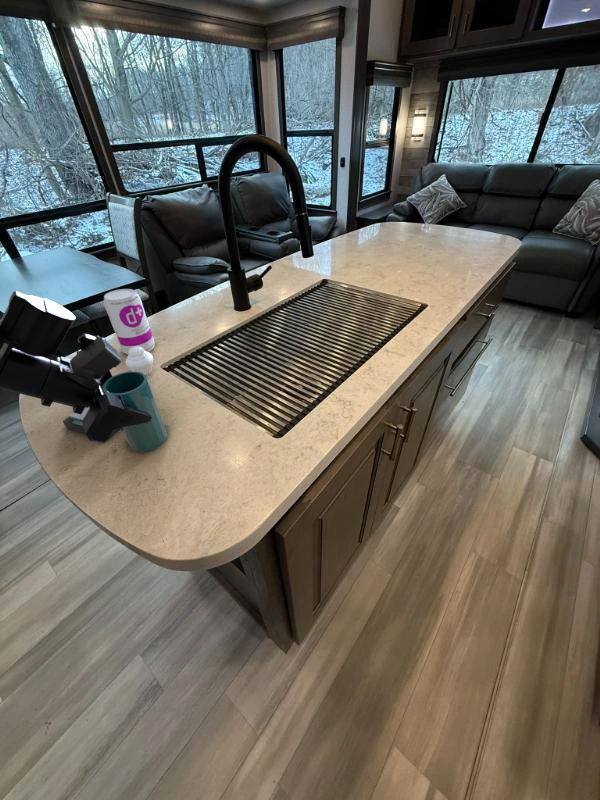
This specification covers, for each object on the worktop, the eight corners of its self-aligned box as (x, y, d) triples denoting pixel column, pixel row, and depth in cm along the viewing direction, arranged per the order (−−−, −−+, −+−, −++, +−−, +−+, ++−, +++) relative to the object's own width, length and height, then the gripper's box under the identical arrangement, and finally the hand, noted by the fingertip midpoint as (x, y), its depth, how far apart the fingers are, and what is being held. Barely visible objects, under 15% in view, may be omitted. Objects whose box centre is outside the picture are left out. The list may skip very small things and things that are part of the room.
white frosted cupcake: (143, 382, 77) (134, 356, 72) (124, 376, 79) (113, 350, 74) (163, 369, 81) (154, 343, 76) (144, 363, 83) (135, 338, 79)
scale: (107, 440, 62) (101, 430, 60) (67, 429, 65) (60, 419, 63) (149, 402, 71) (146, 392, 69) (112, 393, 73) (108, 384, 72)
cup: (151, 455, 59) (126, 398, 51) (121, 446, 61) (92, 390, 53) (174, 430, 64) (155, 375, 56) (146, 423, 66) (123, 368, 57)
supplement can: (160, 349, 89) (143, 294, 79) (130, 360, 84) (108, 303, 75) (148, 338, 93) (130, 285, 84) (118, 349, 89) (96, 294, 80)
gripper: (78, 359, 40) (187, 397, 52) (61, 308, 52) (153, 349, 64) (35, 432, 41) (151, 454, 53) (28, 366, 53) (124, 396, 65)
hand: (145, 408), depth 59 cm, fingers closed on cup, 7 cm apart
